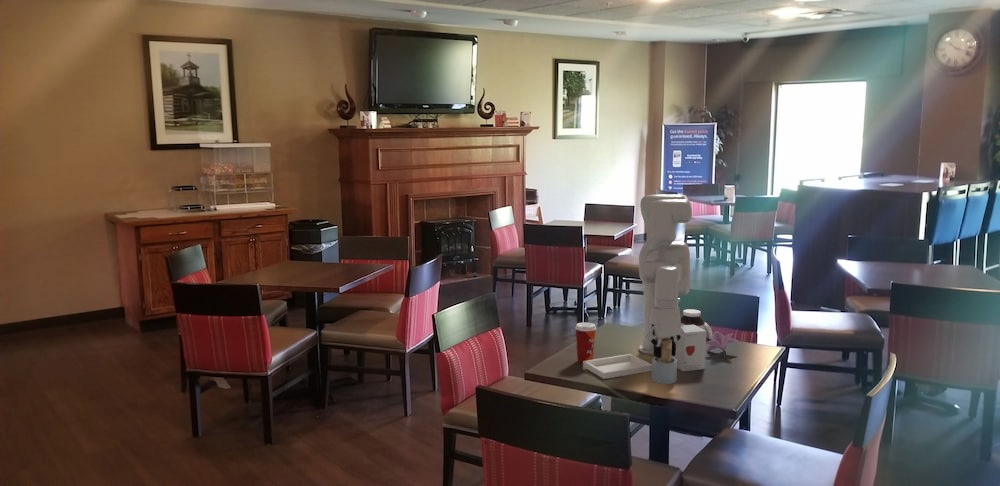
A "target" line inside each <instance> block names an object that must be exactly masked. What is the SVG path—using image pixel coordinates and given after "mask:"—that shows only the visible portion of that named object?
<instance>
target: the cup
mask: <svg viewBox="0 0 1000 486" xmlns="http://www.w3.org/2000/svg"><path fill="white" fill-rule="evenodd" d="M651 364H652V371H651V377H650V378H651V381H652V382H654V383H658V384H662V385H669V384H670V385H671V384H675V383H676V382H677V380H678V379H677V374H678V368H677V359H675V358H673V357H671V362H670V363H662V362H658V358H657V357H655V356H653V357H651Z"/></svg>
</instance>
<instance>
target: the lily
mask: <svg viewBox="0 0 1000 486" xmlns="http://www.w3.org/2000/svg"><path fill="white" fill-rule="evenodd" d="M733 334H734V333H733V332H732V333H727V334H726V335H724V334H722V333H721V332H719V331H717V330H715V331H714V332H713V336H712V340H711V339H710V340H706V345H709V346H708V348H707V349H706V352H711V351H712V350H715V349H720V350H721V351H722V353H723V356H724V358H726V354H725V352H726V351H727V346H728V345H730V344H733V343H737V342H739V340H738V339H735V338H733ZM724 351H725V352H724Z"/></svg>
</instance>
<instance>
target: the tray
mask: <svg viewBox="0 0 1000 486" xmlns="http://www.w3.org/2000/svg"><path fill="white" fill-rule="evenodd" d="M582 370H583V371H584V370H588V371H590V372H591V373H593V374H595V375H596V376H598V377H600V378H602V379H603V380H605V379H612V378H616V377H618V378H619V377H623V376H631V375H636V374H640V373H641V374H642V373H643V374H644V373H648V372H652V363H650V362H648V361H646V360H644V359H642V358H640V357H638V356H636V355H634V354H632V353H628V354H620V355H614V356H608V357H602V358H601V357H600V358H596V359H595V358H593V360H587V361H583V364H582Z"/></svg>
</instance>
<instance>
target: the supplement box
mask: <svg viewBox="0 0 1000 486" xmlns="http://www.w3.org/2000/svg"><path fill="white" fill-rule="evenodd" d="M681 328H682V329H683V331H684V334H683V335H682V336H681V338H680V339H679V341H678V344H676V354H675V356H672V355H671V357H673V358H675V359H677V370H679V371H682V372H691V371H697V370H706V369H705V366H706V352H707V349H706V346H707V344H706V342H707V338H706V330H704V329H702V328H700V327H698V326H696V325H681Z"/></svg>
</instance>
